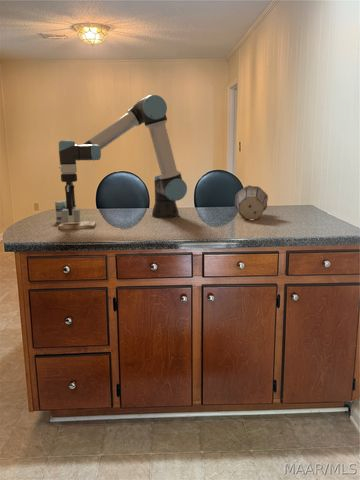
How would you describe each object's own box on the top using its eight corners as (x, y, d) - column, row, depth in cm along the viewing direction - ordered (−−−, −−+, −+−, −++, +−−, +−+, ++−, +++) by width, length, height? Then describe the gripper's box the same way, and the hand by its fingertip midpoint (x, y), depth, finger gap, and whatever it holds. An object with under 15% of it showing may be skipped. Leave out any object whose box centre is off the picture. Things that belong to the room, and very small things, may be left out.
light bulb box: (67, 222, 216) (66, 202, 213) (55, 222, 217) (54, 202, 214) (76, 219, 226) (75, 199, 223) (65, 219, 227) (64, 199, 225)
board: (95, 224, 211) (95, 221, 211) (94, 228, 200) (93, 225, 200) (61, 225, 209) (61, 222, 209) (58, 229, 198) (58, 226, 198)
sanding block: (80, 220, 207) (79, 208, 205) (79, 222, 202) (78, 210, 201) (63, 220, 206) (63, 209, 205) (62, 222, 201) (61, 210, 200)
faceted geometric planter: (269, 193, 211) (265, 175, 237) (234, 195, 213) (234, 177, 240) (269, 225, 218) (265, 204, 245) (235, 226, 221) (235, 205, 248)
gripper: (63, 172, 207) (67, 218, 212) (57, 174, 190) (61, 224, 195) (78, 172, 208) (81, 217, 213) (74, 174, 190) (77, 223, 196)
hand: (72, 220), depth 204 cm, fingers closed on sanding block, 5 cm apart
